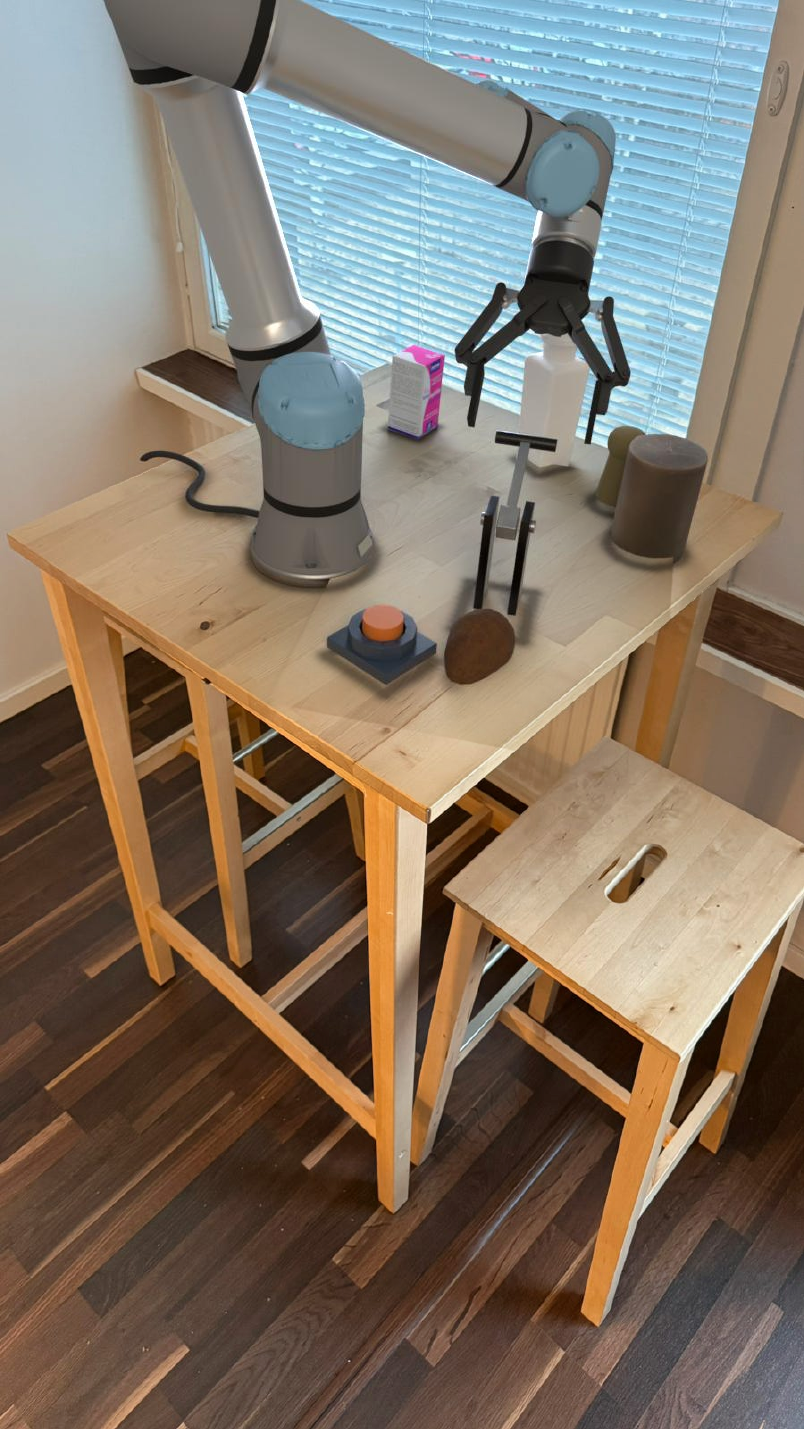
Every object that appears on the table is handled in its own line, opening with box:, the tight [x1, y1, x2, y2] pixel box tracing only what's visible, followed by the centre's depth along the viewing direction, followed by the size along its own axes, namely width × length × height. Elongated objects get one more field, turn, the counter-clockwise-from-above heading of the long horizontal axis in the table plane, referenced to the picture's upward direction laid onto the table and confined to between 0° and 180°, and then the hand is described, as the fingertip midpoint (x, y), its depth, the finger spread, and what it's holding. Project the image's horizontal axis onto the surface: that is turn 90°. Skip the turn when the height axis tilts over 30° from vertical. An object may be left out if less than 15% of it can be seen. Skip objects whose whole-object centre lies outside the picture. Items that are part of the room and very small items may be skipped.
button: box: [362, 604, 404, 642], centre depth 110 cm, size 4×4×2 cm
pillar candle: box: [609, 433, 709, 564], centre depth 128 cm, size 10×10×15 cm
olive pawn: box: [594, 425, 647, 507], centre depth 138 cm, size 6×6×11 cm
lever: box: [494, 429, 557, 541], centre depth 115 cm, size 13×7×2 cm, turn 166°
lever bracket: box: [472, 495, 537, 617], centre depth 117 cm, size 10×8×14 cm
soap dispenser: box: [515, 333, 591, 468], centre depth 142 cm, size 6×6×22 cm
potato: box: [443, 608, 516, 686], centre depth 111 cm, size 7×10×7 cm
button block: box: [326, 608, 438, 686], centre depth 112 cm, size 9×8×4 cm
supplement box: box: [386, 344, 446, 440], centre depth 152 cm, size 6×6×12 cm
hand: (528, 431), depth 118 cm, fingers open, 13 cm apart
